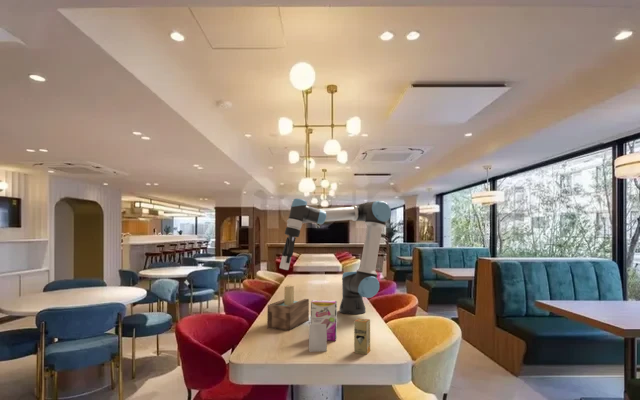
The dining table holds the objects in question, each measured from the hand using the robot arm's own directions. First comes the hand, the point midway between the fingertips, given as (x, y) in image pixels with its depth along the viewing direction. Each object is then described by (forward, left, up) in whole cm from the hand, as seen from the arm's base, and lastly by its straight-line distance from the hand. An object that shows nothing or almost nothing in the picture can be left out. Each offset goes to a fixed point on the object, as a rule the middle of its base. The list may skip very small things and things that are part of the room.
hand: (283, 269), depth 200 cm
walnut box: (-2, -2, -27) cm, 28 cm away
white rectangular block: (-31, +33, -28) cm, 54 cm away
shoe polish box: (-48, +29, -28) cm, 63 cm away
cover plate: (-2, -2, -19) cm, 20 cm away
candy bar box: (-28, +18, -28) cm, 44 cm away
